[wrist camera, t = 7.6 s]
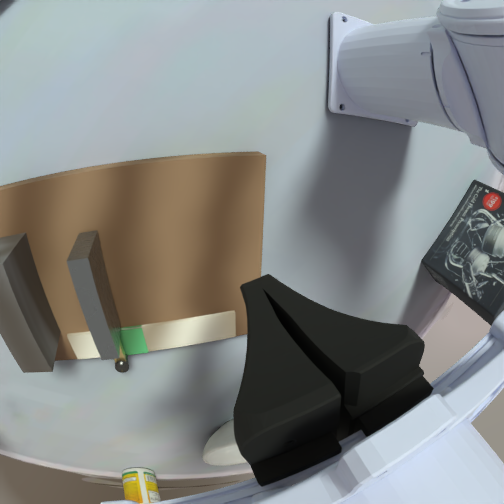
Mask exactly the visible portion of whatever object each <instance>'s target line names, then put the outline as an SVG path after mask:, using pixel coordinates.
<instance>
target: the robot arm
mask: <svg viewBox="0 0 504 504" xmlns="http://www.w3.org/2000/svg"><path fill="white" fill-rule="evenodd" d="M342 18H343V19H344V22H343V21H342ZM340 104H341V105H342V109H341V110H340V108H339V106H340ZM328 108H329V110H330V111H331V112H333V113H339V114H347V115H354V116H360V117H367V118H373V119H378V120H384V121H389V122H394V123H399V124H404V125H408V126H413V127H415V126H416V125H417V123H418V121H419V122H424V123H428V124H433V125H437V126H441V127H445V128H449V129H453V130H457V131H461V132H464V133H466V134H467V135H468V137H469V138H470V141H471V143H472V144H475V145H478V146H481V147H484V148H487V152H488V155H489V158H490V160H491V162H492V163H493V165H494V166H495V167H496V169H498V170H499V171H500V172H501V173H502V174H503V175H504V0H442V2H441V5H440V7H439V8H438V10H437V16H432V17H421V18H413V19H405V20H398V21H391V22H385V23H380V24H372V23H370V22H367V21H364V20H361V19H358V18H356V17H353V16H349V15H346V14H343V13H340V12H334V13H332V14H331V16H330V70H329V95H328ZM405 119H406V121H405ZM240 290H241V293H242V296H243V299H244V302H245V305H246V313H247V333H248V334H247V353H246V361H245V368H244V373H243V378H242V382H241V387H240V391H239V394H238V397H237V400H236V404H235V407H234V436H235V441H236V444H237V446H238V449H239V451H240V454H241V455H242V456H243V458H244V459H245V460H246V461H247V462H248V463H249V464H250V465H251V468H252V470H253V473H254V475H255V478H252V479H250V480H247V481H243V482H240V483H237V484H234V485H230V486H227V487H223V488H220V489H216V490H212V491H209V492H205V493H201V494H196V495H192V496H187V497H182V498H177V499H172V500H166V501H160V502H154V503H147V504H504V463H503V462H502V461H501V460H500V458H499V457H498V456H497V454H496V453H495V452H494V451H493V450H492V448H491V447H490V446H489V445H488V443H487V442H486V441H485V440H484V439H483V437H482V436H481V435H480V434H479V433H478V431H477V430H476V429H475V428H474V427H473V425H472V424H471V422H472V421H473V420H474V419H475V418H476V417H477V416H478V415H479V414H480V413H481V412H482V411H483V410H484V409H485V408H486V407H487V406H488V405H489V404H490V403H491V401H492V400H493V399H494V398H495V397H496V396H497V395H498V394H499V392H500V391H501V390H502V389H503V388H504V310H503V311H502V312H501V313H500V314H499V315H498V317H497V318H496V319H495V320H494V322H493V324H492V326H491V328H490V332H489V333H488V334H487V335H486V336H485V337H484V338H483V339H482V340H481V341H480V342H479V343H478V344H476V345H475V346H474V347H473V348H472V349H471V350H470V351H469V352H468V353H467V354H466V355H465V356H463V357H462V358H461V359H460V360H459V361H458V362H456V363H455V364H454V365H453V366H452V367H451V368H449V369H448V370H447V371H446V372H445V373H443V374H442V375H441V376H440V377H438V378H437V379H436V380H434V381H433V382H432V383H431V384H429V383H428V382H427V380H426V379H425V378H424V377H423V375H424V372H423V370H422V369H421V368H420V367H419V364H420V361H421V358H422V355H423V352H424V346H425V345H424V341H423V340H422V339H421V338H420V337H419V336H418V335H417V334H416V333H415V332H414V331H413V330H411V329H410V328H409V327H408V326H407V325H399V324H388V323H380V322H375V321H369V320H365V319H360V318H357V317H353V316H349V315H346V314H343V313H340V312H337V311H334V310H332V309H329V308H327V307H325V306H322V305H320V304H318V303H316V302H314V301H312V300H310V299H308V298H306V297H304V296H303V295H301V294H299V293H297V292H296V291H294V290H292V289H291V288H289V287H287V286H286V285H284V284H283V283H281V282H280V281H278V280H277V279H275V278H274V277H273V276H271V275H269V274H267V275H265V276H262V277H260V278H257V279H254V280H252V281H249V282H247V283H244V284H242V285H241V286H240ZM294 484H295V485H294ZM292 485H293V486H292ZM101 504H139V503H138V502H135V501H132V500H118V501H105V502H101Z"/></svg>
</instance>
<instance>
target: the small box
mask: <svg viewBox="0 0 504 504" xmlns="http://www.w3.org/2000/svg"><path fill="white" fill-rule="evenodd" d="M422 263H423V264H424V265H425V267H426V268H427V270H428V271H429V272H430V274H431V275H432V276H433V278H434V279H435V281H436V282H438V283H439V284H442V285H443V286H444V287H446V289H448V290H449V291H450V292H451V293H453V294H454V295H456V296H457V297H458V298H459V299H460V300H461V301H463V302H464V303H465V304H466V305H467V306H468V307H470V308H471V309H472V310H474V311H475V312H476V313H477V314H478V315H479V316H481V317H482V318H483V319H484V320H485V321H486V322H488V323H489V324H490V325H491V326H492V324H493V322H494V320H495V319H496V318H497V317H498V315H499V314H500V313H501V312H502V311H503V310H504V193H503V192H501V191H498V190H496V189H494V188H492V187H490V186H488V185H486V184H483V183H481V182H479V181H476V180H474V181H473V182H472V184H471V186H470V188H469V189H468V191H467V193H466V194H465V196H464V198H463V199H462V201H461V203H460V204H459V206H458V207H457V209H456V211H455V212H454V214H453V215H452V217H451V219H450V220H449V222H448V223H447V225H446V226H445V228H444V229H443V231H442V232H441V234H440V235H439V237H438V238H437V239H436V241H435V242H434V244H433V245H432V247H431V248H430V249H429V251H428V252H427V254H426V255H425V256H424V258H423V259H422Z"/></svg>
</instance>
